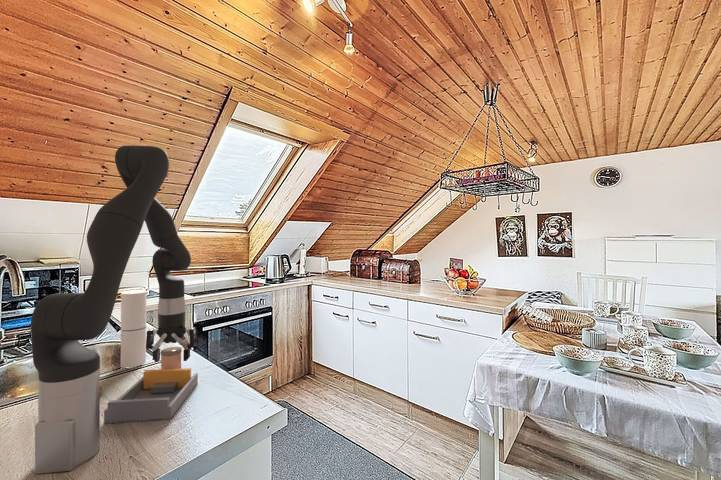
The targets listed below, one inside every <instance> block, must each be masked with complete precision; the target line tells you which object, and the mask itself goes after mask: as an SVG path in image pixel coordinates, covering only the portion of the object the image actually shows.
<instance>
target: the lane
mask: <svg viewBox="0 0 721 480" xmlns="http://www.w3.org/2000/svg"><path fill="white" fill-rule="evenodd" d="M198 378H199V375H198V373H197V372H196V373H194V374H193V375H191V379H190V380H189V381H188V382H187V384H186V385H185V386H184V387H177V389H176V390H175V391H174V392H167V393H150V389H143V376H142V377H141V378H140V379H139V380H137V381H136V383H134V384H133V385H131V386H130V387H129V389H127V390H125V392H124V393H122V394H121V395H120V396H119V397H118V398H117V399H114V400H109V401H108V402H107V407H106V408H105V409H104V410H103V424H104V425H105V424H120V423H121V424H122V423H132V422H133V423H136V422H152V421H153V420H154V421H165V420H166V421H167V420H172V418H174V416H175V415H176V413H177V412H178V410H179V409H180V408H181V407H182V405H183V404H184V402H185V401H186V400H187V398H188V397H189V396H190V395H191V393H192V392H193V390H194V389H195V388H196V387H197V385H198V383H199V382H198V381H199V380H198Z"/></svg>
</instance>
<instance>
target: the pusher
mask: <svg viewBox="0 0 721 480" xmlns="http://www.w3.org/2000/svg"><path fill="white" fill-rule="evenodd" d="M142 377H143V389H150V393H167V392H174V391H175V390H176V389H177V387H184V386H185V385H186V384H187V382H188V381H189V380H190V379H191V377H192V368H190V367H189V368H187V367H186V368H181V369H162V370H161V369H145V370H144V371H143V376H142Z"/></svg>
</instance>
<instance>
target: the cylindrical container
mask: <svg viewBox="0 0 721 480" xmlns="http://www.w3.org/2000/svg"><path fill="white" fill-rule="evenodd" d="M146 337H147V290H146V289H145V290H144V289H140V290H139V289H138V290H137V289H136V290H135V289H134V290H133V289H132V290H126V291H122V292H121V293H120V368H121V369H125V368H126V367H135V368H137V367H136V366H139V365H142V364H144V363H145V362H146V363H147V349H146ZM146 363H145V364H146ZM145 364H144V365H145ZM142 366H143V365H142ZM139 367H140V366H139Z"/></svg>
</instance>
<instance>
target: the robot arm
mask: <svg viewBox="0 0 721 480" xmlns="http://www.w3.org/2000/svg"><path fill="white" fill-rule="evenodd" d="M114 162H115V166H116V169H117V172H118V174H119V176H120V178H121V180H122V182H123V183H124V185H125V187H126V188H125V189H124V190H122V191H121V192H120V193H118V194H117V195H115V196H114V197H112V198H111V199H109V200H108V201H107V202H105V204H103V205H102V206H101V207H100V208H99V209H98V211H97V212H96V214H95V216H94V218H93V220H92V222H91V224H90V226H89V228H88V230H87V233H86V243H87V247H88V251H89V254H90V257H91V260H92V266H93V268H92V269H93V270H92V275H91V278H90V280H89V283H88V286H87V288H85V290H84V292H81V293H78V292H76V293H75V292H61V293H60V292H59V293H57V292H55V293H51V294H49V295H46V296H44V297H43V298H41V299H40V300H39V301H38V303H37V304H36V305H35V307H34V309H33V311H32V315H31V321H30V336H31V350H32V363H33V365H34V367H35V369H36V372H37V373H38V422H36V423H35V425H34V474H38V475H39V474H48V473H60V472H69V471H72V470H73V469H74V468H76V467H77V466H79V465H81V464H83V463H85V462H87V461H88V460H90V459H91V458H92V457H94V456H95V455H96V454H97V453H98V452H99V449H100V447H101V446H100V445H101V444H100V442H101V440H100V439H101V438H100V436H101V434H100V433H101V432H100V431H101V430H100V429H101V428H100V427H101V425H100V424H101V423H100V420H101V419H100V418H101V417H100V416H101V415H100V414H101V413H100V411H101V410H100V409H101V408H100V403H101V402H100V401H101V400H100V399H101V398H100V397H101V396H100V387H101V379H100V378H101V371H100V369H101V357H100V355H99V353H98V352H96V351H95V350H93V349H89V348H88V347H85V346H84V345H83V344H81V342H79V341H89V340H93V339H96V338H97V337H99V336H100V335H102V333H103V332H104V330H105V329H106V328H107V326H108V325H109V322H110V320H111V316H112V313H113V311H114V307H115V304H116V300H117V297H118V293H119V290H120V285H121V282H122V278H123V277H124V272H125V271H126V267H127V265H128V262H129V260H130V257H131V254H132V252H133V249H134V248H135V245H136V244H137V240H138V238H139V236H140V234H141V231H142V228H143V226H144V223H145V224H146V225H145V226H146V227H147V230H148V233H149V236H150V239H151V242H152V244H153V245H154V246H155V247H157V248H159V249H157V250H156V251H155V252H154V253H153V256H152V258H151V259H152V262H151V263H152V267H153V269H154V273H155V276H156V280H157V282H158V304H157V312H158V313H157V326H158V327H157V329H155V328H154V327H152V328H150V329H148V330H146V350H151V351H152V360H153V361H154V363H159V361H161V348H160V347H161V346H162V345H163V343H165V344H171V343H172V344H176V343H178V345H180V347H181V348H182V349H183V357H182V359H183V362H187V361H188V360H189V359H190V357H191V349H193V348H195V346H197V327H195V326H194V327H191V328H187V327H186V308H187V307H186V299H185V298H186V297H185V281H184V279H183V278H180V277H176V276H175V275H173V274H172V273H171V272H183V271H185V270H187V269H188V268H189V267H190V266H191V262H192V257H191V254H190V252H189V250H188V248H187V247H186V245H185V244H184V242H183V240H182V239H181V238H180V236H179V234H178V232H177V228H176V224H175V221H174V219H173V217H172V215H171V212H169V211H168V209H166V207H165V206H164V205H162V204H161V202H160V201H159V200H158V199H157V198H156V196H157V194H158V192H159V191H160V189H161V187H162V185H163V184H164V181H165V180H166V177H167V175H168V173H169V170H170V169H169V168H170V158H169V156H168V153H167V152H166V151H165V150H164V148H161V147H159V146H153V145H133V144H132V145H127V144H126V145H121V146H120V147H118V148H117V150H116V151H115V154H114ZM185 334H187V336H189V340H188V338H187V337H186V336H185ZM156 335H157V336H158V337H159V339H158V340H157V342H155V336H156Z"/></svg>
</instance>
